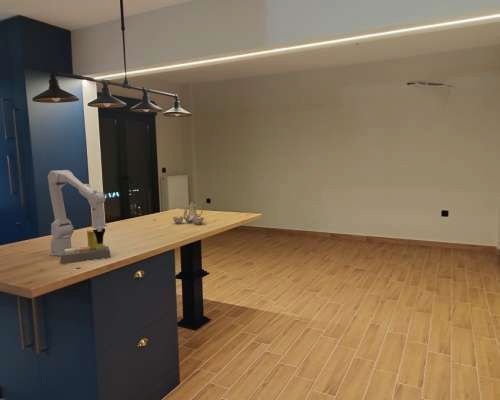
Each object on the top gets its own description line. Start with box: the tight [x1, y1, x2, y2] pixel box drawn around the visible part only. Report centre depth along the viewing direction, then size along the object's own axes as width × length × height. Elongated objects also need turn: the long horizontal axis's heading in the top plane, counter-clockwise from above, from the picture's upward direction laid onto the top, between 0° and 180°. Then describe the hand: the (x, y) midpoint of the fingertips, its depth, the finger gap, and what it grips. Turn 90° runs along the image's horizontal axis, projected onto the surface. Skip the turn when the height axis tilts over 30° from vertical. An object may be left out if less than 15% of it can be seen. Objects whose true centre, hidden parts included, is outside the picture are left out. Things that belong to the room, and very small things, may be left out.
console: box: [59, 245, 111, 265], centre depth 189 cm, size 10×22×4 cm, turn 114°
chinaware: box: [171, 201, 206, 226], centre depth 286 cm, size 28×17×17 cm, turn 72°
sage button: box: [95, 244, 106, 250], centre depth 191 cm, size 4×4×3 cm
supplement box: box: [86, 228, 104, 248], centre depth 207 cm, size 6×6×11 cm
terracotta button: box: [79, 246, 90, 252], centre depth 189 cm, size 4×4×3 cm
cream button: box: [65, 247, 76, 254], centre depth 186 cm, size 4×4×3 cm
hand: (100, 243), depth 191 cm, fingers closed
